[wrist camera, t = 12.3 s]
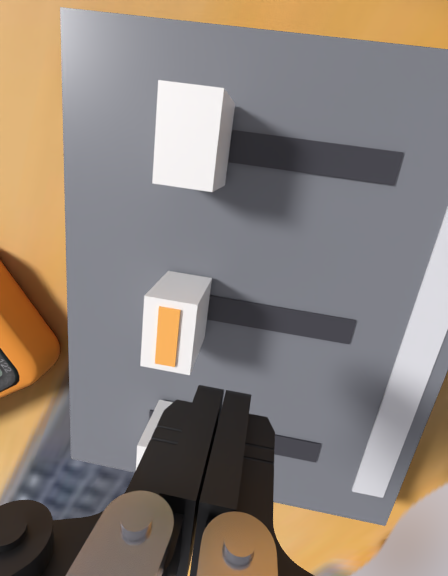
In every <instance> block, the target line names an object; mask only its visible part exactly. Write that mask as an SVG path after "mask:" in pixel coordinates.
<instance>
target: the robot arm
mask: <svg viewBox="0 0 448 576" xmlns="http://www.w3.org/2000/svg"><path fill="white" fill-rule="evenodd" d="M223 397H224V401H223ZM250 402H251V394H245V393H240V392H235V391H230V390H226V392H225V396H224V389H219V388H213V387H208V386H203V385H199V386H198V388H197V391H196V393H195V396H194V399H193V402H187V401H182V400H176V401H174V402H173V403H172V404H171V405H170V406H168V407H167V408H166V409H165V410H164V411H163V413H162V415H161V418H160V420H159V422H158V424H157V428H155V430H154V433H153V435H152V437H151V440H150V441H149V443H148V445H147V448H146V450H145V452H144V454H143V456H142V458H141V460H140V463H139V465H138V467H137V469H136V471H135V473H134V476H133V478H132V480H131V482H130V484H129V486H128V488H127V490H126V492H125V493H124V494H123V495H121V496H119V497H118V498H116V499H115V500H114V501H112V502H111V503H110V504H109V505H108V506H107V507H106V509H105V510H104V511H103V512H101V513H98V514H96V515H92V516H89V517H83V518H73V519H63V520H52V516H51V513H50V511H49V510H48V508H47V507H45V506H44V505H43V504H41V503H39V502H36V501H33V500H18V501H13V502H9V503H6V504H4V505H1V506H0V576H187V574H188V570H189V565H190V561H191V557H192V563H191V571H190V576H314V575H312V574H311V573H309V572H307V571H306V570H304V569H302V568H301V567H300V566H298V565H297V564H296V563H294V562H293V561H292V560H291V559H290V558H289V557H288V556H287V554H286V553H285V552H284V551H283V549H282V548H281V546H280V544H279V542H278V540H277V538H276V535H275V532H274V528H273V493H274V449H275V431H274V429H273V427H272V425H271V423H270V421H269V419H268V417H264V416H259V415H254V414H249V410H250ZM222 404H223V405H222ZM192 552H193V556H192Z"/></svg>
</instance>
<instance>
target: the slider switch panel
mask: <svg viewBox="0 0 448 576" xmlns="http://www.w3.org/2000/svg"><path fill="white" fill-rule="evenodd" d="M60 17H61V59H62V101H63V143H64V185H65V226H66V268H67V310H68V352H69V394H70V435H71V459H74V460H79V461H84V462H88V463H93V464H98V465H102V466H107V467H112V468H116V469H121V470H126V471H130V472H135V471H136V458H137V445H138V443H139V441H140V439H141V436H142V434H143V432H144V430H145V428H146V426H147V424H148V422H149V420H150V418H151V416H152V414H153V412H154V410H155V407H156V405H157V403H158V401H159V400H164V401H169V402H174V401H176V400H182V401H187V402H193V399H194V396H195V393H196V391H197V388H198V386H199V385H203V386H208V387H213V388H219V389H224V396H225V392H226V390H230V391H235V392H240V393H245V394H251V402H250V410H249V414H254V415H259V416H264V417H268V419H269V421H270V423H271V425H272V427H273V429H274V431H275V449H274V493H273V502H276V503H281V504H285V505H290V506H295V507H299V508H304V509H309V510H313V511H318V512H323V513H327V514H332V515H337V516H342V517H346V518H351V519H356V520H360V521H365V522H370V523H374V524H379V525H384V526H385V525H386V523H387V520H388V518H389V515H390V513H391V511H392V508H393V506H394V503H395V501H396V498H397V496H398V493H399V491H400V488H401V486H402V483H403V481H404V478H405V476H406V473H407V471H408V468H409V466H410V463H411V461H412V458H413V456H414V453H415V451H416V448H417V446H418V443H419V441H420V438H421V436H422V433H423V431H424V428H425V426H426V423H427V421H428V418H429V416H430V413H431V411H432V408H433V406H434V403H435V401H436V398H437V396H438V393H439V391H440V388H441V386H442V383H443V381H444V378H445V376H446V373H447V371H448V49H439V48H430V47H421V46H412V45H403V44H393V43H384V42H375V41H366V40H357V39H347V38H338V37H329V36H320V35H311V34H301V33H292V32H283V31H274V30H265V29H255V28H246V27H237V26H228V25H219V24H209V23H200V22H191V21H182V20H173V19H163V18H154V17H145V16H136V15H127V14H117V13H108V12H99V11H90V10H81V9H71V8H62V7H60ZM158 80H163V81H171V82H179V83H187V84H195V85H203V86H211V87H220V88H224V89H225V90H226V91H227V93H228V94H229V96H230V97H231V99H232V100H233V101H234V103H235V109H234V117H233V125H232V133H231V141H230V149H229V157H228V165H227V173H226V181H225V186H223V187H221V188H219V189H217V190H215V191H213V192H208V191H201V190H194V189H187V188H180V187H174V186H167V185H160V184H153V183H152V179H153V162H154V145H155V127H156V110H157V93H158ZM168 271H173V272H179V273H185V274H191V275H197V276H203V277H209V278H212V282H211V290H210V299H209V307H208V315H207V323H206V331H205V338H204V341H203V343H202V346H201V348H200V351H199V353H198V356H197V358H196V361H195V363H194V366H193V368H192V371H191V373H190V375H186V374H180V373H175V372H170V371H164V370H159V369H154V368H148V367H143V366H140V362H141V344H142V326H143V308H144V295H145V294H146V293H147V292H148V291H149V290H150V289H151V288H152V287H153V286H154V285H155V284H156V283H157V282H158V281H159V280H160V279H161V278H162V277H163V276H164V275H165V274H166V273H167V272H168ZM223 401H224V397H223ZM222 405H223V404H222Z"/></svg>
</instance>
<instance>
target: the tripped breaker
mask: <svg viewBox="0 0 448 576" xmlns="http://www.w3.org/2000/svg"><path fill="white" fill-rule="evenodd" d="M211 282H212V278H209V277H203V276H197V275H191V274H185V273H179V272H173V271H168V272H167V273H166V274H165V275H164V276H163V277H162V278H161V279H160V280H159V281H158V282H157V283H156V284H155V285H154V286H153V287H152V288H151V289H150V290H149V291H148V292H147V293H146V294H145V295H144V308H143V326H142V344H141V362H140V366H143V367H148V368H154V369H159V370H164V371H170V372H175V373H180V374H186V375H190V373H191V371H192V368H193V366H194V363H195V361H196V358H197V356H198V353H199V351H200V348H201V346H202V343H203V341H204V338H205V331H206V323H207V315H208V307H209V299H210V290H211Z"/></svg>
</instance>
